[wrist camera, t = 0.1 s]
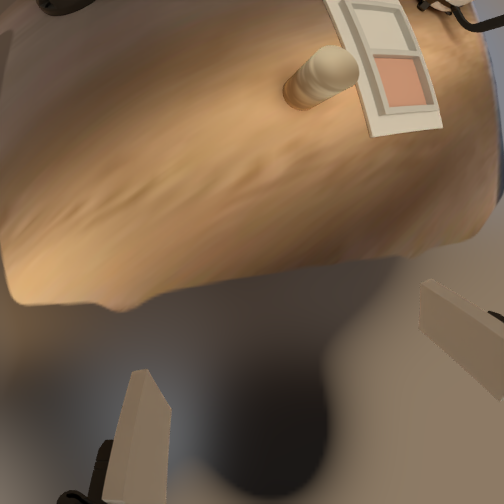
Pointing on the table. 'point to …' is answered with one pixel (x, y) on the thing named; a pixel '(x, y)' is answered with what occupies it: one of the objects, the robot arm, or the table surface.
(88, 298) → the table surface
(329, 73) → the peg
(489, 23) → the coffee press
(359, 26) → the white flat tray
